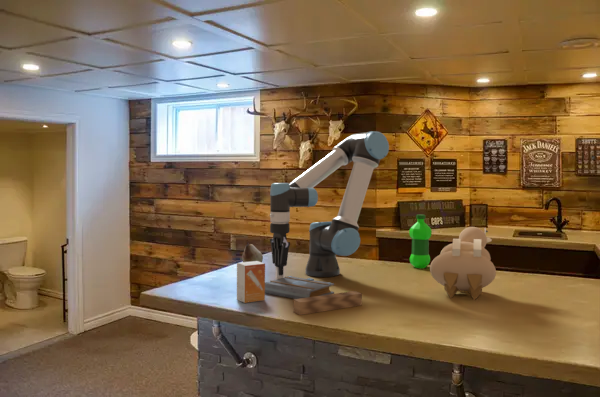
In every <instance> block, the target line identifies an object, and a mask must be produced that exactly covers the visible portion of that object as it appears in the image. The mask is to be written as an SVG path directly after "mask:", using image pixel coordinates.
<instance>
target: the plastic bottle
mask: <svg viewBox="0 0 600 397" xmlns="http://www.w3.org/2000/svg"><path fill="white" fill-rule="evenodd" d="M415 219H416V222H415V223H414V224H413V225H412V226H410V228H409V230H408V231H409V232H408V234H409V235H408V236H409V237H410V238H411V254H410V257H409V263H410V264H411V265H412V266H413V267H414V268H416V269H425V268H426V267H428V266H429V264H431V263H430V262H431V256H430V254H429V251H430V250H429V249H430V248H429V245H430V242H429V240H430V238H432V228H431V227H430V226H429V225H428V223H426V222H425V220H426V215H425V214H416V215H415Z"/></svg>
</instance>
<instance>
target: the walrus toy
mask: <svg viewBox="0 0 600 397" xmlns="http://www.w3.org/2000/svg"><path fill="white" fill-rule="evenodd" d="M488 232H489V231H488V230H487V229H486V227H484V231H483V230H482V229H481V228H479V227H477V226H476V227H475V226H468V227H465V228H464V229H463V230H461V232H460V233H459V236H458V238H453V239H452V243H449V244H447V245H445V246H444V247H443V248H442V250H441V251H440V254H439V255H437V256H435V257H434V258H433V260H432V261H430V262H431V263H430V266H429V273H430V275H431V276H432V278H433V279H434V280H435V282H437V283H439V284H440V285H442V286H444V287H443V288H444V291H445V292H446V294H447V295H448V297H449V298H450V299H452V298H453V297H454V296H455V295H456V294H457V293H458V292H459V291H463V292H465V291H466V292H468V293H469V294H470V296H471V298H472V299H473V301H476V299H477V298H478V297H479V296H480V295H481V294H482V293H483V288H486V287H488V286H489V285H490V284H491V283H492V282H493V281H494V280H495V278H496V275H497V270H496V266H495V265H494V262H492V261H491V259H492V258H491V254H490V252H489V251H488V250H487V249H486V245H487V243H491V242H492V240H493V239H492V238H491V237H489V236H487V233H488Z"/></svg>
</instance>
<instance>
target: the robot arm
mask: <svg viewBox="0 0 600 397" xmlns="http://www.w3.org/2000/svg"><path fill="white" fill-rule="evenodd" d="M387 139H388V138H387V137H386V136H385V135H384V133H382V132H381V131H377V130H376V131H372V130H371V131H367V132H365V131H364V132H357V133H353V134H351V135H349V136H347V137H346V138H345V139H343V140H342V141H340V142H339V143H337V145H335V146H334V147H333V148H332V149H331V150H332V151H331V152H329V153H328V154H327V155H325V157H323V158H322V159H320V160H319V161H317V162H316V163H315V164H313V165H312V166H311V167H309V168H308V169H307V170H306V171H303V173H302V174H300V175H299V176H297V177H296V178H295V179H293V180H292V181H291V182H273V183H271V184H270V192H269V193H270V194H269V198H270V200H269V202H270V203H269V204H270V205H269V206H270V210H269V211H270V214H269V217H270V218H269V219H270V223H269V224H270V225H269V226H270V227H269V233H271V234H272V238H270V239H269V243H270V249H271V258H272V264H274V266H275V276H274V278H275V279H274V280H276V279H280V278H284V267H286V266H287V264H288V257H289V249H290V245H291V242H289V241H288V238H287V234H289V233H290V225H291V224H290V221H291V220H290V216H291V213H290V212H291V210H290V208H303V207H304V208H306V207H307V208H310V207H315V206H316V205H317V204H318V201H319V194H318V191H317V190H316V189H315V188H314V187H316V186H317V185H318V184H320V183H321V182H322V181H324V180H326V179H327V178H328V177H329V176H330V175H332V174H333V173H334V172H335V171H336V170H338V169H339V168H340V167H342V166H347V165H348V164H350V163H351V162H353V166H352V169H351V172H350V175H349V178H348V181H347V184H346V187H345V191H344V194H343V197H342V200H341V204H340V206H339V210H338V213H337V216H335V217H333V218H332V220H330V221H317V222H312V223H310V225H309V230H308V231H309V232H308V233H309V256H308V260H307V262H306V263H307V264H306V266H305V273H304V274H306V275H307V276H311V277H318V278H326V277H327V278H329V277H331V278H332V277H337V276H339V275H340V274H341V273H340V272H341V268H340V265H339V262H338V260H337V256H343V257H347V256H350V255H352V254H354V253H356V251H357V250H358V248H359V247H360V245H361V237H360V233H359V229H360V226H359V224H358V220H359V217H360V214H361V210H362V207H363V204H364V200H365V197H366V194H367V191H368V188H369V184H370V182H371V179H372V176H373V172H374V170H375V169H377V168H378V167H379V164H380V161H381V160H382V159H384V158H386V157H387V156H388V153H389V151H390V144H389V141H388V140H387ZM336 255H337V256H336Z"/></svg>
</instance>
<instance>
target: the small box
mask: <svg viewBox="0 0 600 397" xmlns="http://www.w3.org/2000/svg"><path fill="white" fill-rule="evenodd" d="M265 282H266V263H264V262H263V261H262V262H259V261H252V262H243V261H242V262H237V263H236V300H237V301H239V302H241V303H243V304H246V303H254V302H262V301H265V300H266V296H265V295H266V293H265Z"/></svg>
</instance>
